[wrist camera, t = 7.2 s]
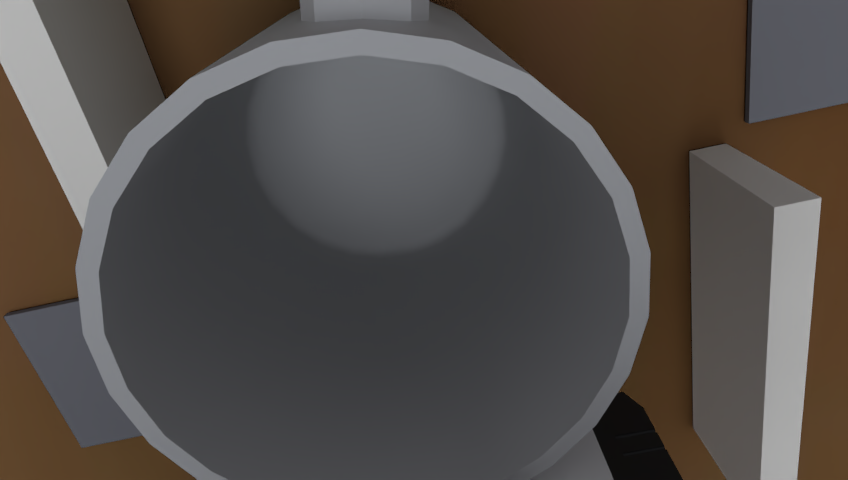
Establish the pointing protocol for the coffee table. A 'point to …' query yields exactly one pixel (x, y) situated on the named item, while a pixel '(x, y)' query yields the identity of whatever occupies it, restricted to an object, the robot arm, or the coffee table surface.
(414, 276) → the cup
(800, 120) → the coffee table surface
